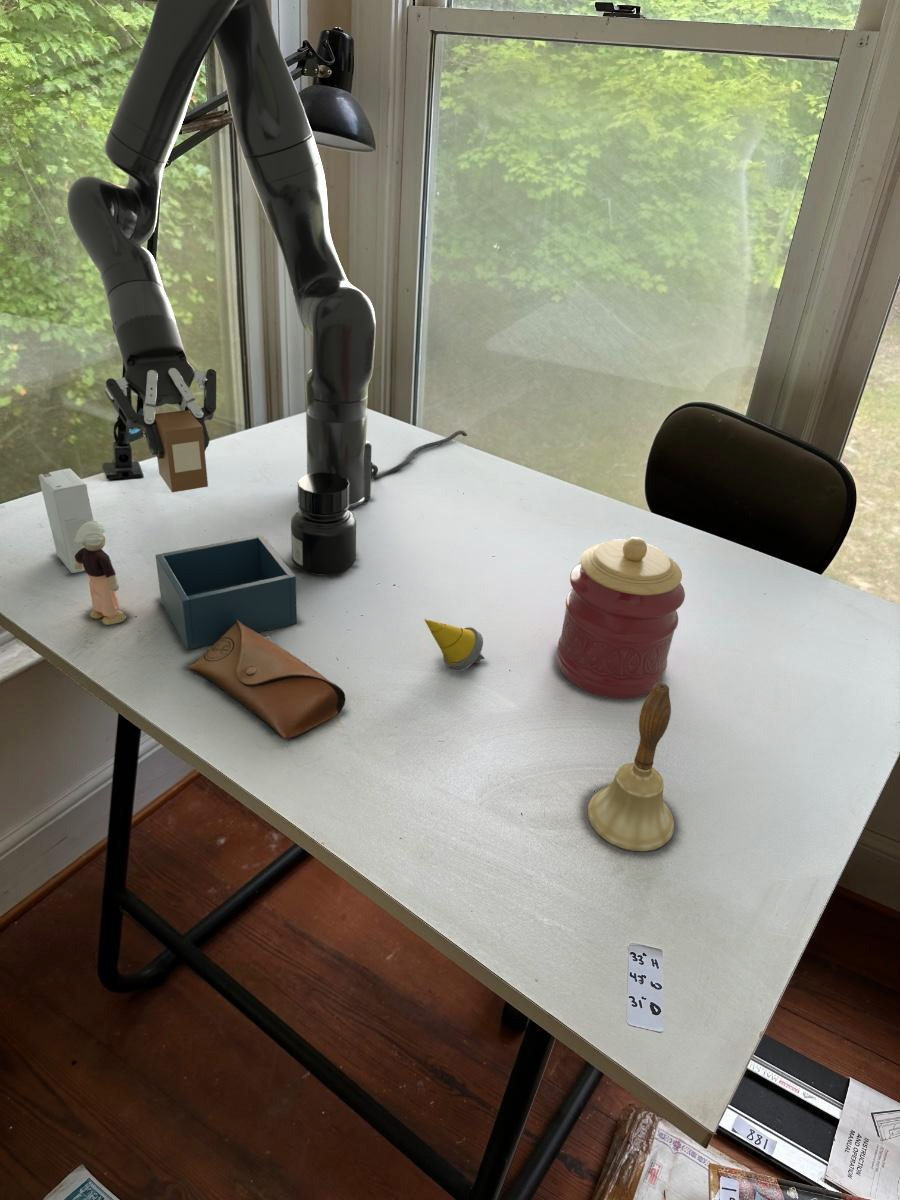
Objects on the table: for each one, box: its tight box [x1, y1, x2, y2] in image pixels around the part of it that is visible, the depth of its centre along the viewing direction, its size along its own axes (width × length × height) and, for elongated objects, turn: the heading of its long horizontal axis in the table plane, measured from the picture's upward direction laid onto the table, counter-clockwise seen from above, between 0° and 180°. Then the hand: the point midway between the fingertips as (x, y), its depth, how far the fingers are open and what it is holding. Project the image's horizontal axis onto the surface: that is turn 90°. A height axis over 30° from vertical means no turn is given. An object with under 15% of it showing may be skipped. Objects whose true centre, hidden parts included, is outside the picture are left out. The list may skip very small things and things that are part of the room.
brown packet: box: [154, 410, 209, 493], centre depth 106 cm, size 4×6×8 cm
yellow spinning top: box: [424, 618, 486, 672], centre depth 99 cm, size 5×5×10 cm
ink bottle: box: [290, 472, 358, 576], centre depth 116 cm, size 10×9×12 cm
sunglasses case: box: [187, 620, 346, 740], centre depth 94 cm, size 18×7×7 cm
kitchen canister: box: [556, 536, 686, 700], centre depth 98 cm, size 13×13×18 cm
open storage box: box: [155, 534, 298, 651], centre depth 105 cm, size 14×12×7 cm
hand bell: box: [587, 682, 675, 852], centre depth 77 cm, size 8×8×16 cm
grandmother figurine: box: [74, 520, 127, 626], centre depth 101 cm, size 8×4×13 cm, turn 65°
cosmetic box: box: [38, 467, 95, 574], centre depth 111 cm, size 6×4×12 cm
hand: (182, 452), depth 105 cm, fingers closed on brown packet, 4 cm apart
